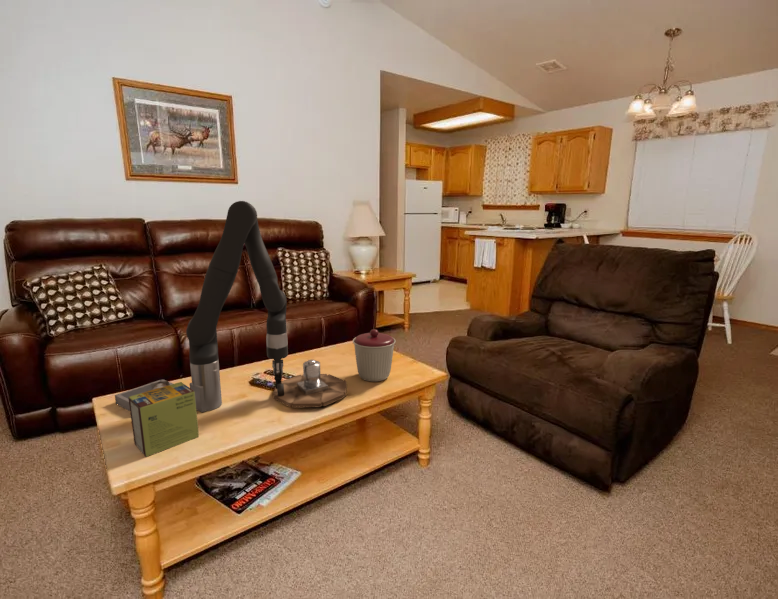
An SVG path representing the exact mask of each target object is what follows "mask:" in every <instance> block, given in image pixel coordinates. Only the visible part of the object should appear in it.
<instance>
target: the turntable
mask: <svg viewBox="0 0 778 599" xmlns="http://www.w3.org/2000/svg"><path fill="white" fill-rule="evenodd" d="M320 375H321V381H323V382H324V383H325V384H326V385H328V390H324V391H320V392H316V393H312V394H308V395H306V394H304V393H303V392H302V391H301V390H300V389H299V388H298V387H297V383H298V382H303V381H304V376H303V374H298V375H296V376H293V377H290V378H287V379H284V380H281V382H282V384H277V389H276V387H275V388H274V390H273V393H272V397H273V400H275V401H278V402H279V403H281V404H283V405H286V406H287V407H289V408H291V407H292V408H322V407H325V406H328V405H331V404H332V403H333V404H334V402H337V401H340V400H341V399H343V398H345V397H346V396H347V385H348V384H347V381H346V380H344V379H342V378H340V377H338V376H334V375H333V374H329V373H320Z"/></svg>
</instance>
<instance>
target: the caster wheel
mask: <svg viewBox="0 0 778 599" xmlns="http://www.w3.org/2000/svg"><path fill="white" fill-rule="evenodd" d="M169 382H170V381H169V380H166V381H162V382H157V383H152V382H151V383H152V384H151V386H152V388H153V389H150V390H148V391H151V390H154V389H158V388H161V387H165V386H169V385H170V384H169ZM148 391H147V392H148Z"/></svg>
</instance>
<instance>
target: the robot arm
mask: <svg viewBox="0 0 778 599" xmlns="http://www.w3.org/2000/svg"><path fill="white" fill-rule="evenodd" d="M257 212H258V211H257V210H256V208H255V207H254V205H253V204H251V203H250V202H248V201H245V200H238V201H235V202H233V203H231V205H229V208H228V209H227V214H226V219H225V224H224V226H223V227H224V228H223V231H222V233H221V234H222V235H221V238H220V240H219V242H218V244H217V247H216V249H215V250H214V253H213V255H212V257H211V259H210V262H209V265H208V266H207V267H208V268H207V270H206V272H205V276H204V280H203V284H202V288H201V291H200V292H201V293H200V297H199V302H198V304H197V308H196V310H195V312H194V314H193V316H192V317H191V319H190V320H189V321H188V323H187V327H186V329H185V330H186V331H185V334H186V337H187V339H188V345H189V346H188V349H189V353H188V354H189V367H190V375H191V376H190V378H191V382H189V388H191V389H192V390H194V391H195V402H196V411H197V412H200V413H204V412H209V411H213V410H216V409H218V408H220V407H221V406H222V405H223V400H222V399H223V398H222V386H221V375H220V373H221V372H220V363H219V346H218V332H217V331H218V330H217V326H218V323H219V318H220V315H221V312H222V309H223V307H224V304H225V303H226V301H227V299H228V296H229V295H230V293H231V289H232V288H233V286H234V282H235V281H236V277H237V275H238V272H239V269H240V266H241V260H242V253H243V249H244V245H245V249H246V252H247V255H248V259H249V261H250V262H249V263H250V265H251V268H252V271H253V274H254V276H255V279H256V281H257V283H258V287H259V290H260V294H261V299H262V302H263V304H264V306H265V309H267V319H266V323H265V324H266V337H265V338H266V340H265V341H266V357H267V358H268V359H270V360H271V361H272V363H271V366H272V367H271V368H272V370H273V372H272V373H273V375H274V379H273V380H274V381H275V383H274V386H275V388H276V389H277V384H282V382H281V381H283V374H284V369H283V367H284V359H285V358H287V357H288V355H289V350H288V349H289V348H288V346H289V345H288V340H289V339H288V334H287V332H288V331H287V320H286V319H287V306H288V305H287V304H288V302H287V296H286V294H285V292H284V291H282V290H281V289H280V285H279V282H278V275H277V272H276V270H275V267H274V264H273V262H272V259H271V257H270V254H269V253H268V250H267V248H266V245H265V243H264V241H263V238H262V234H261V231H260V226H259V222H258V220H259V219H258V213H257Z"/></svg>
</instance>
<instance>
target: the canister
mask: <svg viewBox="0 0 778 599" xmlns="http://www.w3.org/2000/svg"><path fill="white" fill-rule="evenodd" d="M396 342H397V341H396V339H395V337H393V336H391V335H389V334H387V333H382V332H379V330H378V329H375V328H374V329H371V330H370V331H369V332H366V333H361V334H359V335H357V336H355V337H354V338H353V339H352V343H353V346H354V355H355V360H356V361H355V362H356V369H357V374H358V376H359V377H360V378H361V380H364V381H367V382H381V381H384V380H386V379H387V378H389V376H390V373H391V369H392V363H393V356H394V349H395V348H394V346H395V344H396Z"/></svg>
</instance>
